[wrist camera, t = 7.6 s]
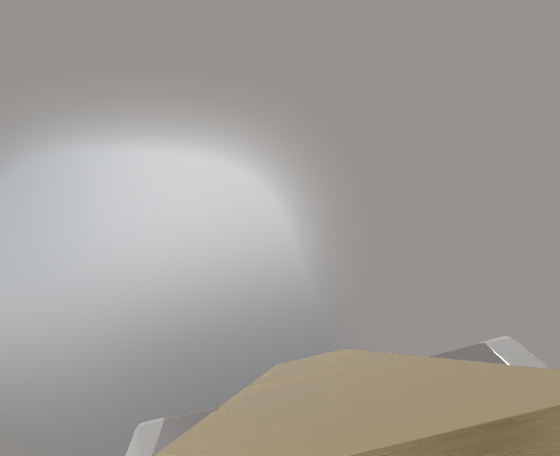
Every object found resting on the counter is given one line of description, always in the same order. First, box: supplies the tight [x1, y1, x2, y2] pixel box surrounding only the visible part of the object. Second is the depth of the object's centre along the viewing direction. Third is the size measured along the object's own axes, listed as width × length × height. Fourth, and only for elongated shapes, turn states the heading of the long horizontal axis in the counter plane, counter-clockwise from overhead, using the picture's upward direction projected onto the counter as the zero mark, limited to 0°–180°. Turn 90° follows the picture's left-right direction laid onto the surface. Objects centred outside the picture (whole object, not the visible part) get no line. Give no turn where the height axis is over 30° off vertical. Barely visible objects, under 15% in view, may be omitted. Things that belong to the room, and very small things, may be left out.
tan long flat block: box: [154, 349, 560, 456], centre depth 13 cm, size 22×4×2 cm, turn 177°
